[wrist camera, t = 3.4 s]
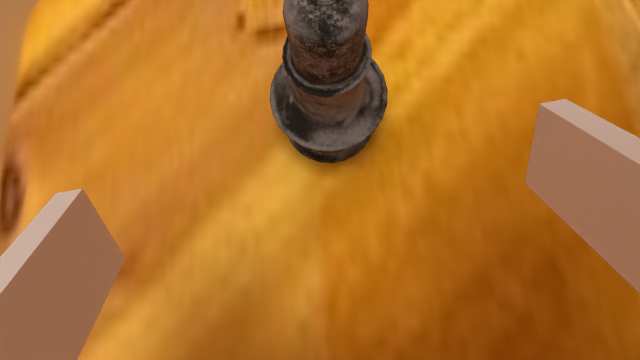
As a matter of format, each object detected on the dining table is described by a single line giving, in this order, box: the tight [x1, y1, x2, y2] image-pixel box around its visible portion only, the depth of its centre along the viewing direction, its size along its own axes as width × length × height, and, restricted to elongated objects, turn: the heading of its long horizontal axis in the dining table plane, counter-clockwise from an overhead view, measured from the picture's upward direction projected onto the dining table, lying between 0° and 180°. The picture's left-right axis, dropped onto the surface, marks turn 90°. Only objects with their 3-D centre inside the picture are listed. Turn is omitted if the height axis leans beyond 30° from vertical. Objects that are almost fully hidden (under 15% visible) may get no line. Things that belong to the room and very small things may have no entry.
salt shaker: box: [270, 0, 387, 163], centre depth 16 cm, size 6×6×12 cm
